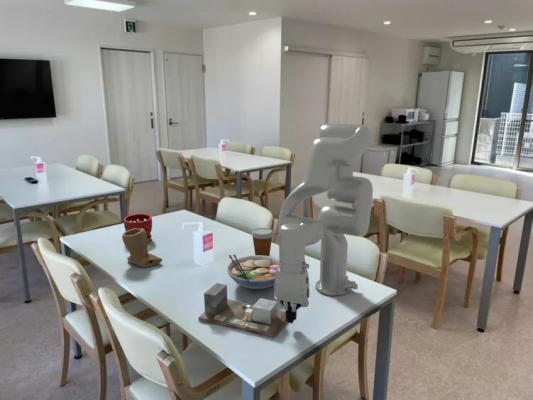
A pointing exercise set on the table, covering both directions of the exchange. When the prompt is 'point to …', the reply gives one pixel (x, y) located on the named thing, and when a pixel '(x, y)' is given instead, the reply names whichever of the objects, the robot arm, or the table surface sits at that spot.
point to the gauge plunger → (263, 311)
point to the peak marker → (248, 315)
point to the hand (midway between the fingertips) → (291, 320)
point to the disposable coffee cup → (262, 241)
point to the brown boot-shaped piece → (139, 248)
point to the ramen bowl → (253, 271)
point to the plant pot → (139, 223)
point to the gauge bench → (236, 314)
